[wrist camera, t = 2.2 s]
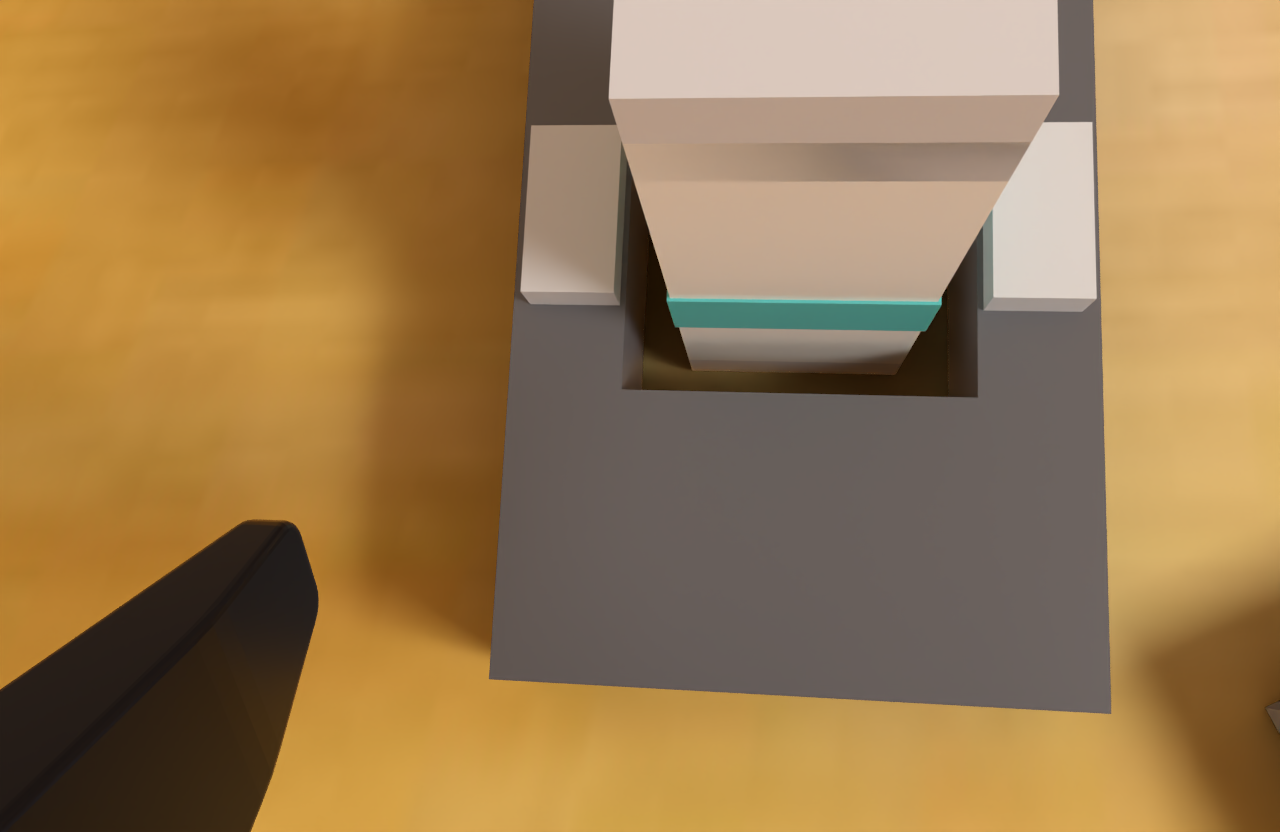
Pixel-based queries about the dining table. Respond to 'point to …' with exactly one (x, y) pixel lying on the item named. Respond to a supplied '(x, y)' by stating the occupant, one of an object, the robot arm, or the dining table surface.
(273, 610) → the robot arm
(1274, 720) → the tray
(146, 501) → the dining table surface
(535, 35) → the block
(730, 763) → the dining table surface
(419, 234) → the dining table surface
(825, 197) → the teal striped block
